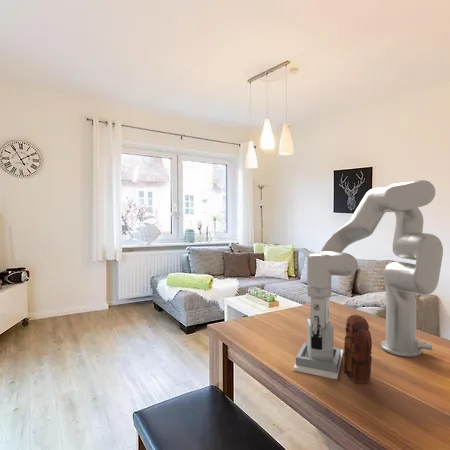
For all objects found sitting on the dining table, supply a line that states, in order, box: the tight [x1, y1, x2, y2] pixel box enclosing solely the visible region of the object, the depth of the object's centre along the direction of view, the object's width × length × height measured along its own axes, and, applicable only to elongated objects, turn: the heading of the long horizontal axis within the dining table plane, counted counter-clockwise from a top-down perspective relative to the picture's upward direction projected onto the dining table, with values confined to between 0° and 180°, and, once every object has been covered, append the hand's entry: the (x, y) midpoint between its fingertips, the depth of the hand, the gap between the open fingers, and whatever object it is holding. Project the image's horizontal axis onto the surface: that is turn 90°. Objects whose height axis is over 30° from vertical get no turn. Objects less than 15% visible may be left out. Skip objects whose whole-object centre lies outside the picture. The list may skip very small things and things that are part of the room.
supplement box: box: [306, 318, 334, 362], centre depth 102 cm, size 7×7×13 cm
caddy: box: [293, 342, 344, 380], centre depth 104 cm, size 13×20×4 cm, turn 155°
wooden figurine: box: [343, 314, 373, 384], centre depth 95 cm, size 12×6×18 cm, turn 178°
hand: (319, 343), depth 102 cm, fingers open, 9 cm apart
